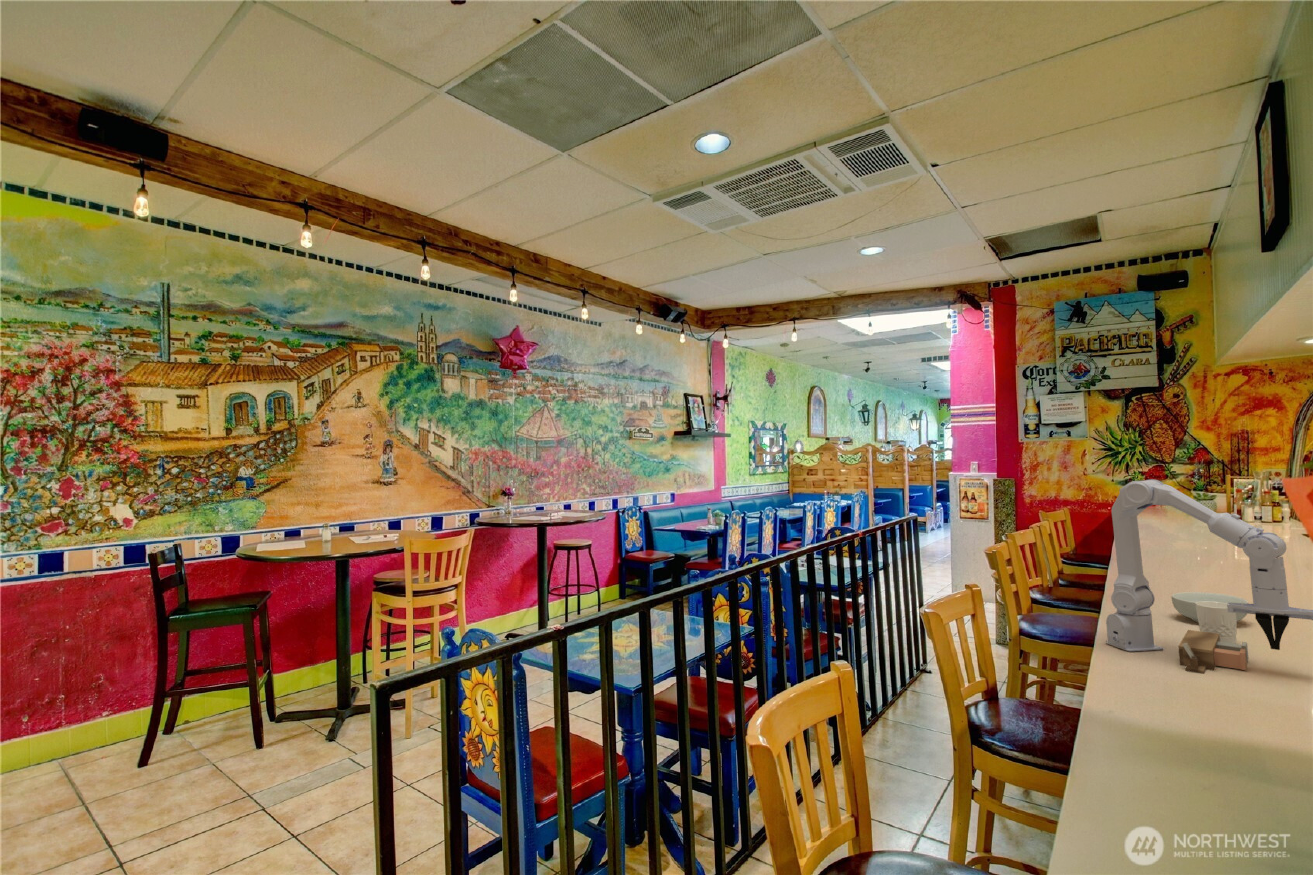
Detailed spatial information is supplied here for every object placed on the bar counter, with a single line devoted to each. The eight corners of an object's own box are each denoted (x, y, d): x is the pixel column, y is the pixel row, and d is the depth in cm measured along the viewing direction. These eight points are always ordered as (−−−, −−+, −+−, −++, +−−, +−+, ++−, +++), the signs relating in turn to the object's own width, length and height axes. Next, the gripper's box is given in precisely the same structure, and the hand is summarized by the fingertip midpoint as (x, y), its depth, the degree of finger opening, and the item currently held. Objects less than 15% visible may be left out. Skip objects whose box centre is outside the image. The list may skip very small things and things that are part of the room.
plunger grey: (1248, 658, 147) (1247, 642, 148) (1247, 662, 144) (1245, 646, 145) (1211, 653, 152) (1209, 637, 152) (1209, 657, 149) (1208, 641, 149)
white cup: (1247, 647, 156) (1243, 608, 156) (1211, 647, 157) (1208, 608, 158) (1225, 639, 164) (1222, 601, 164) (1191, 638, 165) (1188, 601, 166)
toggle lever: (1199, 660, 143) (1187, 641, 144) (1198, 663, 141) (1186, 644, 142) (1194, 661, 143) (1182, 643, 145) (1193, 664, 142) (1181, 645, 143)
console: (1221, 651, 154) (1219, 633, 154) (1212, 674, 139) (1210, 654, 139) (1189, 647, 158) (1188, 629, 158) (1177, 669, 143) (1176, 649, 143)
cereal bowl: (1161, 620, 184) (1159, 596, 185) (1191, 612, 191) (1188, 589, 192) (1233, 632, 169) (1230, 606, 169) (1262, 623, 176) (1260, 598, 176)
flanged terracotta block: (1247, 665, 142) (1245, 649, 143) (1245, 670, 140) (1244, 653, 140) (1208, 660, 147) (1207, 644, 148) (1206, 664, 144) (1205, 648, 145)
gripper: (1315, 587, 136) (1322, 649, 135) (1226, 581, 146) (1232, 639, 146) (1316, 593, 131) (1323, 657, 130) (1224, 586, 142) (1230, 645, 141)
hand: (1275, 648), depth 138 cm, fingers closed
